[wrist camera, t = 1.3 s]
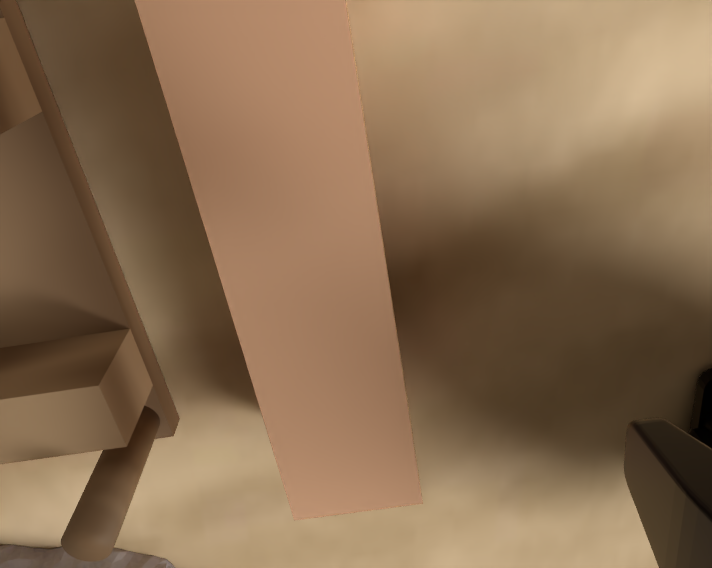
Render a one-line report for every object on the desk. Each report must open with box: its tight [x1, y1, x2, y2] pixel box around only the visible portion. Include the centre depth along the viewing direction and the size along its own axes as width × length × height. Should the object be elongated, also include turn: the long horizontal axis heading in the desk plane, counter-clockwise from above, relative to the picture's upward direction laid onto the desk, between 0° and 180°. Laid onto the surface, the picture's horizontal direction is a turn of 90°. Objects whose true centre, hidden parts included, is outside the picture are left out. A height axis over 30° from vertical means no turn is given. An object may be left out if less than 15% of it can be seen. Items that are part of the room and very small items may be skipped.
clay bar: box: [135, 0, 423, 520], centre depth 15 cm, size 14×4×4 cm, turn 9°
